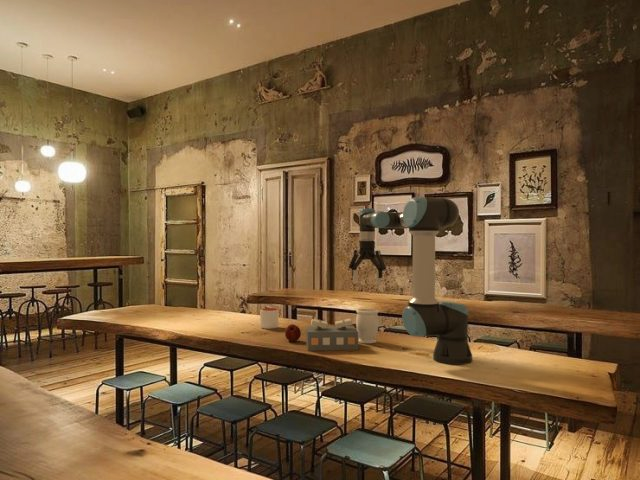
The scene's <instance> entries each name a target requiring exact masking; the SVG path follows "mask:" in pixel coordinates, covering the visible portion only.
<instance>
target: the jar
mask: <svg viewBox="0 0 640 480" xmlns="http://www.w3.org/2000/svg"><path fill="white" fill-rule="evenodd" d="M355 312H356V313H357V314H356V319H355V325H356V327H355V328H356V330H357V331H358V343H361V344H375V343H377V340H376V337H377V335H378V330H379V321H380V320H379V315H378V314H379V310H378V309H375V308H374V309H373V308H359V309H356V311H355Z"/></svg>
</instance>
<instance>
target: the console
mask: <svg viewBox="0 0 640 480" xmlns="http://www.w3.org/2000/svg"><path fill="white" fill-rule="evenodd" d="M305 328H306V329H305V343H306V344H305V345H306V349H307V351H358V350H359V341H358V340H359V336H358V331H357V327H355V326H354V325H349V326H344V327H340V328H337V327H336V325H327V328H323V327H319V326H314V325H311V326H310V325H309V326H308V325H307V326H305Z"/></svg>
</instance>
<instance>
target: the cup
mask: <svg viewBox="0 0 640 480" xmlns="http://www.w3.org/2000/svg"><path fill="white" fill-rule="evenodd" d="M259 312H260V314H259V316H260V317H259V321H260V323H259V327H260V328H261V329H265V330H272V329H277V328H278V327H279V324H280V323H279V320H280V319H279V316H280V315H279V313H280V312H279V308H276V307H275V308H273V307H269V308H268V307H266V308H261V309H259Z"/></svg>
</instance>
